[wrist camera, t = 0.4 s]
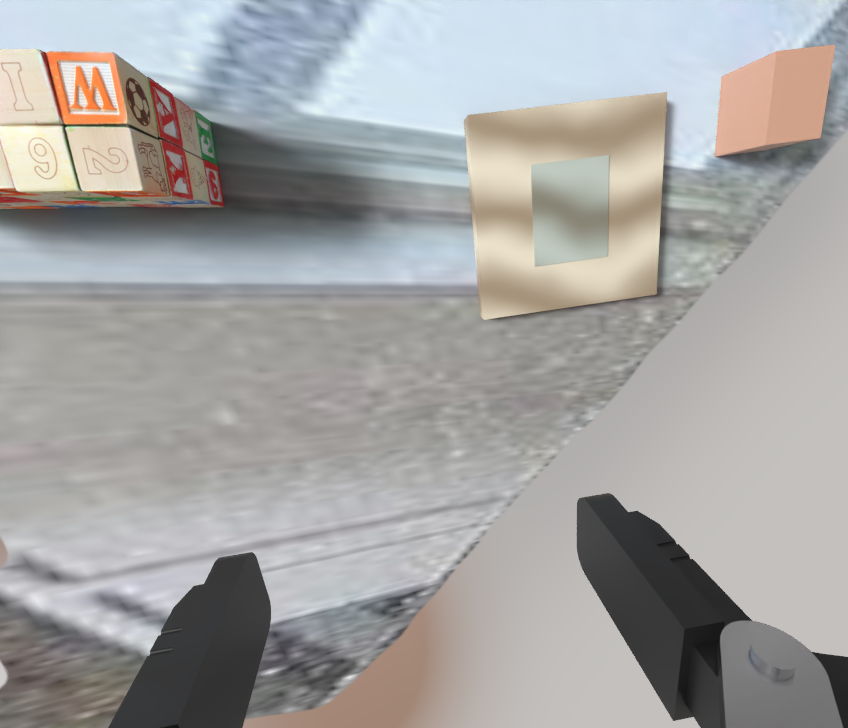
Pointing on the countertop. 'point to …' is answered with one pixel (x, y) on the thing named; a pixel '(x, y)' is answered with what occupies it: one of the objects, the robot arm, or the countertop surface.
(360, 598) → the countertop surface
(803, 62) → the terracotta brick
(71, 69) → the stack of blocks
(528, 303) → the ash board
